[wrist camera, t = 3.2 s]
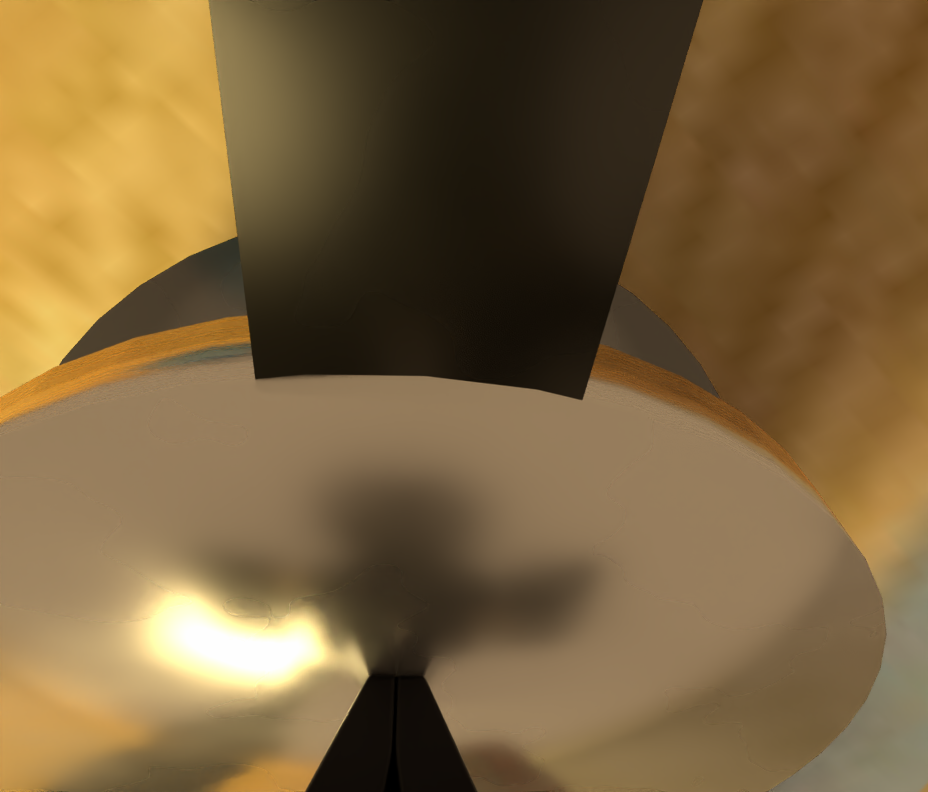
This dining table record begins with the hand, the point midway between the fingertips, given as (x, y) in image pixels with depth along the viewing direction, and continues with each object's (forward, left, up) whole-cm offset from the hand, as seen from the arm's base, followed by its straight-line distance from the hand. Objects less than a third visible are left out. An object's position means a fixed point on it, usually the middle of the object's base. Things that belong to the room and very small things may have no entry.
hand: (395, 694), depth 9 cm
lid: (0, 0, -1) cm, 1 cm away
